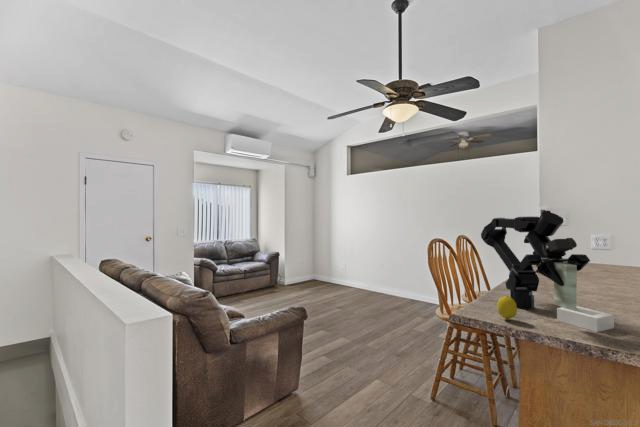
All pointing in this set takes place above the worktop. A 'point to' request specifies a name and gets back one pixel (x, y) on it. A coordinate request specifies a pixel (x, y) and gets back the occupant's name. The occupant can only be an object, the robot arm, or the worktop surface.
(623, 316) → the worktop surface
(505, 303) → the lemon
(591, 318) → the white rectangular frame
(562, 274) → the slat
